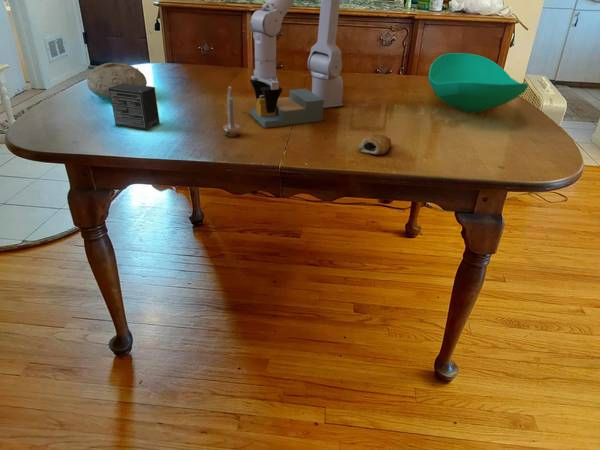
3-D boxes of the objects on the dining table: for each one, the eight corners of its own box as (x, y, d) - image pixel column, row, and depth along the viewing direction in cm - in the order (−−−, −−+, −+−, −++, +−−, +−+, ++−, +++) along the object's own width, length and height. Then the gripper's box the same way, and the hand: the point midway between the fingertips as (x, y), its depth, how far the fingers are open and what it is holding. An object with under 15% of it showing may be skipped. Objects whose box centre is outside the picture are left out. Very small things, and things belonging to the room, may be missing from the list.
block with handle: (271, 111, 134) (271, 92, 131) (275, 115, 131) (275, 95, 128) (256, 113, 132) (256, 93, 129) (260, 116, 129) (260, 97, 126)
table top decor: (413, 90, 163) (419, 51, 156) (490, 92, 164) (500, 54, 156) (441, 129, 130) (450, 82, 123) (537, 132, 130) (552, 85, 123)
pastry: (373, 140, 121) (375, 126, 119) (396, 146, 118) (399, 132, 116) (356, 151, 115) (358, 137, 113) (380, 158, 111) (382, 143, 109)
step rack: (305, 108, 142) (306, 88, 139) (322, 120, 133) (323, 99, 130) (250, 114, 136) (250, 94, 133) (264, 128, 127) (264, 106, 123)
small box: (161, 123, 127) (156, 86, 122) (147, 131, 122) (141, 92, 116) (129, 118, 130) (123, 81, 124) (114, 126, 125) (107, 87, 119)
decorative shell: (158, 91, 153) (153, 60, 148) (132, 108, 138) (126, 74, 133) (108, 87, 155) (102, 57, 150) (78, 103, 140) (70, 70, 135)
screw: (222, 132, 123) (240, 131, 124) (223, 138, 119) (241, 138, 120) (219, 83, 116) (238, 83, 117) (220, 88, 112) (239, 88, 113)
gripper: (243, 54, 127) (244, 102, 135) (260, 66, 116) (261, 117, 123) (266, 52, 130) (267, 100, 137) (286, 64, 119) (285, 115, 126)
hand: (266, 108), depth 130 cm, fingers open, 7 cm apart
